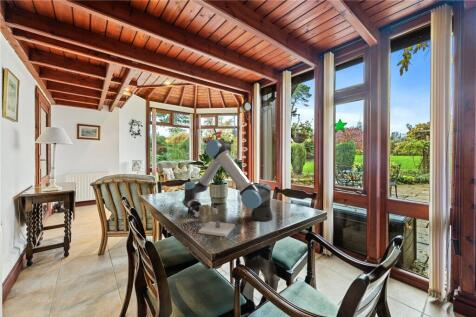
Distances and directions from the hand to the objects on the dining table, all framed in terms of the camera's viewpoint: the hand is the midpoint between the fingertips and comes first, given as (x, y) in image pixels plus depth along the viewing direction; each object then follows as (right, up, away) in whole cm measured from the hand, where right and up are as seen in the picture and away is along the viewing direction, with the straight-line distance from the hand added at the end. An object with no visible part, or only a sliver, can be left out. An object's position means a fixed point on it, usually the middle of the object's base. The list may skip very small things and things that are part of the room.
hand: (207, 213), depth 134 cm
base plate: (+7, -6, -11) cm, 15 cm away
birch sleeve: (-2, -6, +3) cm, 7 cm away
